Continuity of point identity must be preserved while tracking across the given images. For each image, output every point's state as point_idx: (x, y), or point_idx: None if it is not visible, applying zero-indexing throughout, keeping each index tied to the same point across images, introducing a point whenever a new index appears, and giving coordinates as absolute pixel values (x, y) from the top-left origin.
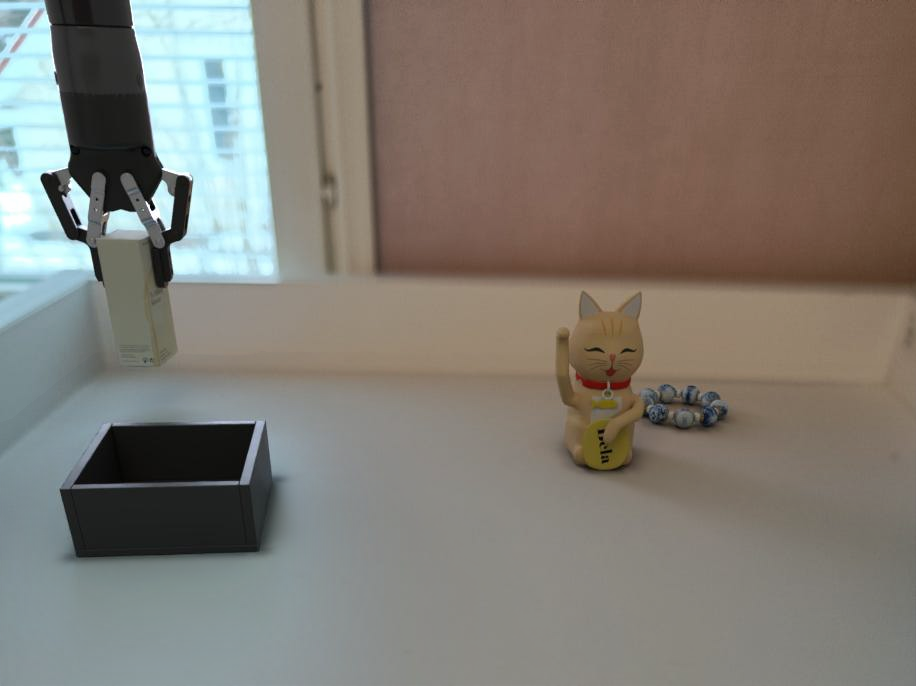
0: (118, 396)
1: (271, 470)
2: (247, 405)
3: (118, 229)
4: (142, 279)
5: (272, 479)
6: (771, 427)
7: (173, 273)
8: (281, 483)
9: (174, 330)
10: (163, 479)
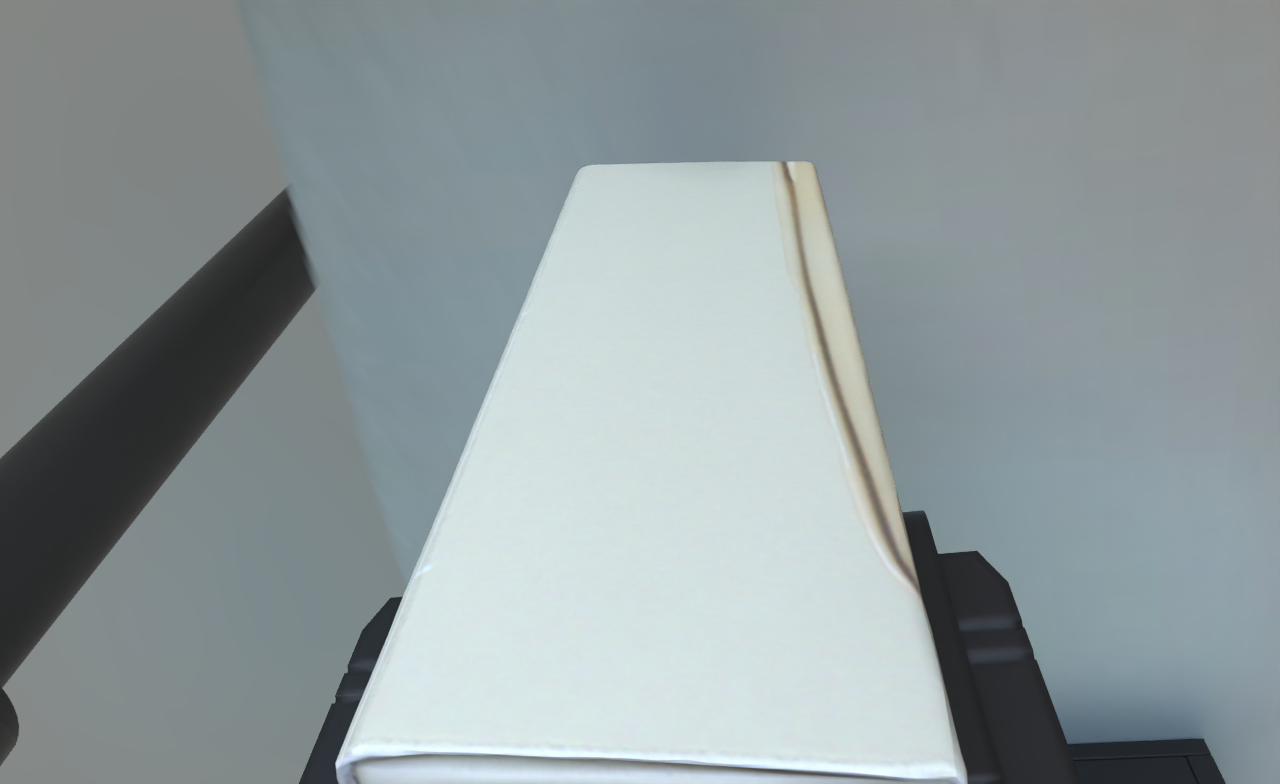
0: (475, 120)
1: (1216, 765)
2: (1129, 178)
3: (342, 759)
4: None
5: (1204, 741)
6: None
7: (1008, 589)
8: (1226, 747)
9: (827, 213)
10: None
